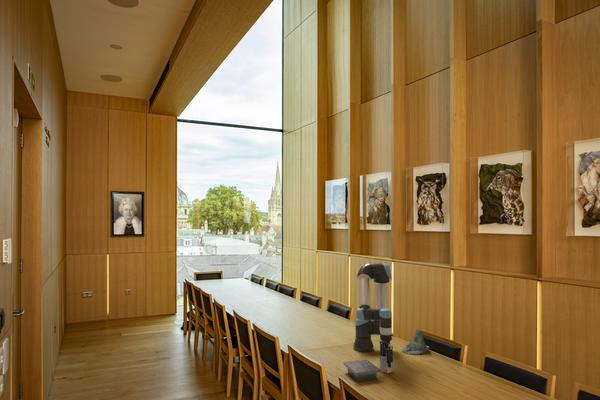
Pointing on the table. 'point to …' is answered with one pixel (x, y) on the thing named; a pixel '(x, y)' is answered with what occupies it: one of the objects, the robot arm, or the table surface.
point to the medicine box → (384, 364)
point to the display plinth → (362, 370)
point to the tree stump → (416, 344)
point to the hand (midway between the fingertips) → (386, 370)
